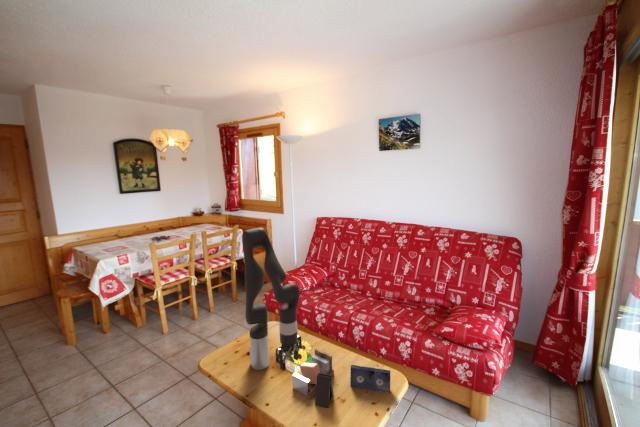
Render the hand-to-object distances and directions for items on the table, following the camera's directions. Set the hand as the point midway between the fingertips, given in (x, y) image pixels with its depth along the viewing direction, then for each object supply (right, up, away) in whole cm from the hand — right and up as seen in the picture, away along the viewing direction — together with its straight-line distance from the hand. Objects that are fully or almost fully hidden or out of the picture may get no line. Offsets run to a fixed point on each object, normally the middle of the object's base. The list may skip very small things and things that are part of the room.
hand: (289, 364), depth 132 cm
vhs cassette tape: (+37, -17, +10) cm, 41 cm away
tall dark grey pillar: (+10, -16, +15) cm, 24 cm away
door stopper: (+15, -18, +4) cm, 24 cm away
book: (+10, -15, +13) cm, 22 cm away
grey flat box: (+5, -17, +9) cm, 20 cm away
